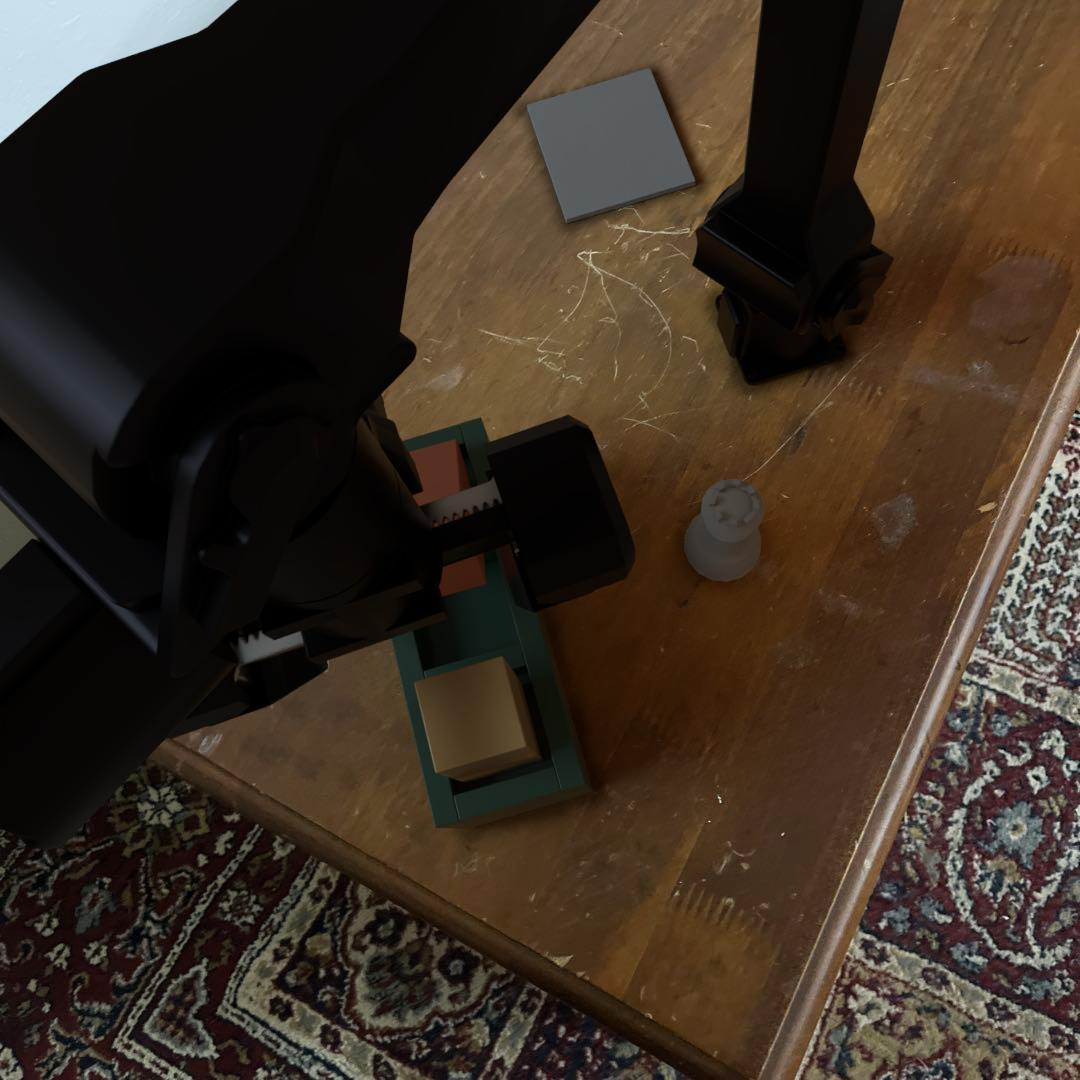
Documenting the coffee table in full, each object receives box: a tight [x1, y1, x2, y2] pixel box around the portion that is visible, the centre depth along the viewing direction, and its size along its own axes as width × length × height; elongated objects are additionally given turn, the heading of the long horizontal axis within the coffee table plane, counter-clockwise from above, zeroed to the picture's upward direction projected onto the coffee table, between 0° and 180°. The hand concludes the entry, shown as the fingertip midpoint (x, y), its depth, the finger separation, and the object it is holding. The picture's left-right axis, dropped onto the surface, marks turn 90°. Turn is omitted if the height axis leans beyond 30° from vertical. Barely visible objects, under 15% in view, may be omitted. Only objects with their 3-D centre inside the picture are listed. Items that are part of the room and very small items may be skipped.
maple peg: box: [414, 656, 544, 784], centre depth 44 cm, size 4×4×8 cm
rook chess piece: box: [683, 478, 766, 583], centre depth 53 cm, size 4×4×8 cm
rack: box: [390, 417, 594, 830], centre depth 52 cm, size 7×20×8 cm, turn 16°
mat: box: [526, 67, 696, 224], centre depth 65 cm, size 9×10×1 cm
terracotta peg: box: [409, 439, 486, 596], centre depth 47 cm, size 4×4×8 cm
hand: (419, 624), depth 43 cm, fingers open, 9 cm apart
